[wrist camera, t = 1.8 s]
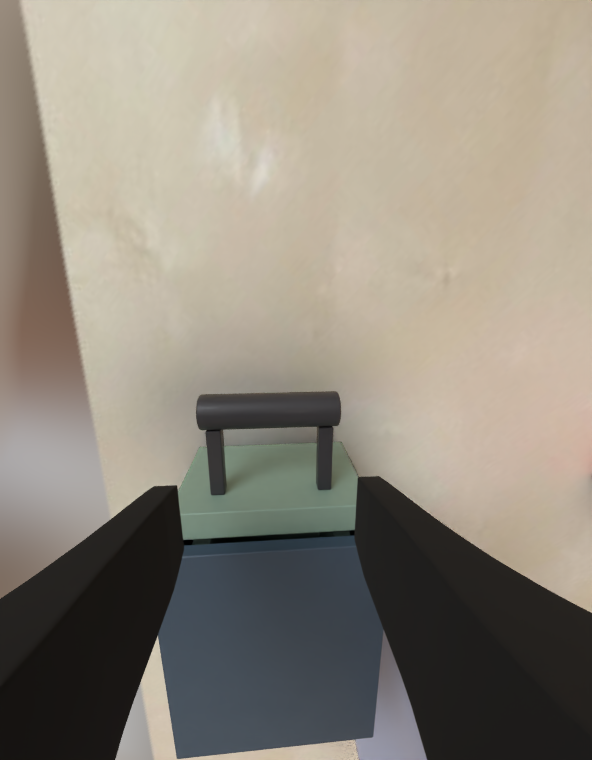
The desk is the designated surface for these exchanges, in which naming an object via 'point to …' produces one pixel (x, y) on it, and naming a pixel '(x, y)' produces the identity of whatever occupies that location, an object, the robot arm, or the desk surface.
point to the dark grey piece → (270, 646)
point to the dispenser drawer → (268, 472)
